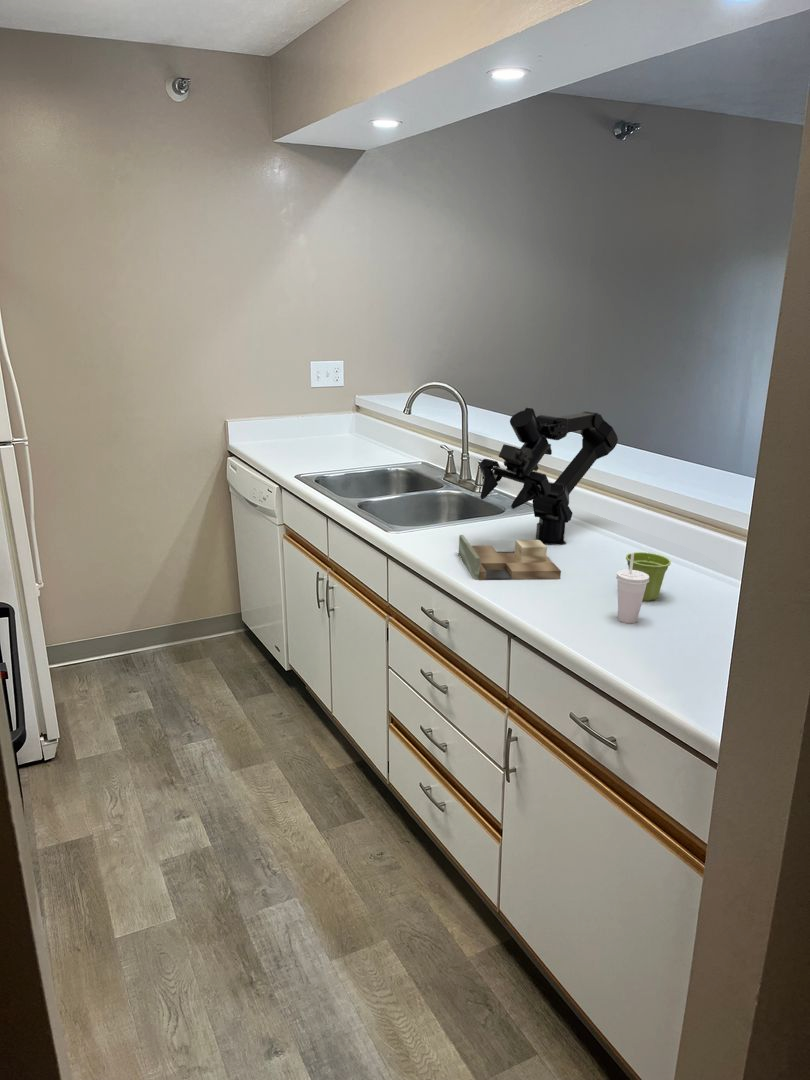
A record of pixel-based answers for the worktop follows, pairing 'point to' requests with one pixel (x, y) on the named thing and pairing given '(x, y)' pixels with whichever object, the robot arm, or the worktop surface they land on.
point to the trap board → (503, 564)
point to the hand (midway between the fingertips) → (496, 502)
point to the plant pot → (650, 571)
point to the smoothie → (630, 593)
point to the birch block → (530, 550)
